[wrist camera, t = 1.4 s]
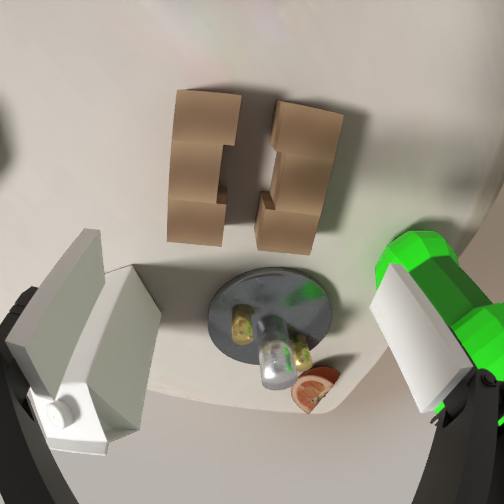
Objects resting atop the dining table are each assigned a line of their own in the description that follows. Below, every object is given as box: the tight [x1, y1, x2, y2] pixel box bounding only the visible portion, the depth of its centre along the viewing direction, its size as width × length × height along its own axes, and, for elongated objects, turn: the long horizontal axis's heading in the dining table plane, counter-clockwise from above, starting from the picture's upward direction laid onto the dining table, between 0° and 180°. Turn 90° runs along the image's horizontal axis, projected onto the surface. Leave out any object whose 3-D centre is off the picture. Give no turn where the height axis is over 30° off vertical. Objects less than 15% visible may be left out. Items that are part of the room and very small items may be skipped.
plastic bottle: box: [375, 231, 504, 426], centre depth 21 cm, size 10×10×25 cm
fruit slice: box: [291, 367, 341, 414], centre depth 39 cm, size 8×7×5 cm
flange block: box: [167, 90, 344, 255], centre depth 24 cm, size 12×12×4 cm
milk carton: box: [30, 265, 162, 455], centre depth 24 cm, size 7×7×19 cm
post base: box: [208, 267, 332, 390], centre depth 31 cm, size 14×14×9 cm
